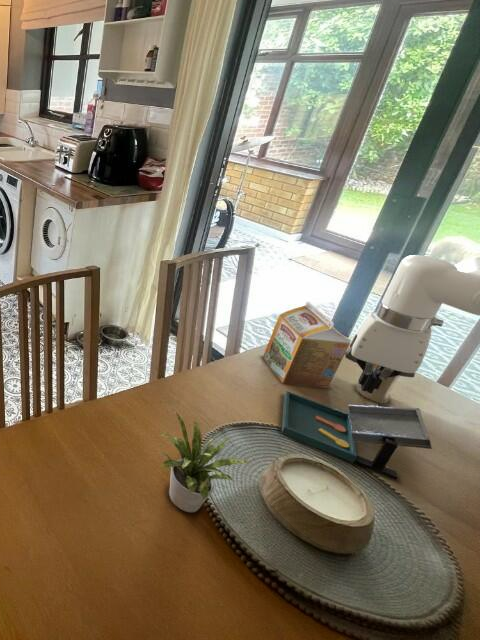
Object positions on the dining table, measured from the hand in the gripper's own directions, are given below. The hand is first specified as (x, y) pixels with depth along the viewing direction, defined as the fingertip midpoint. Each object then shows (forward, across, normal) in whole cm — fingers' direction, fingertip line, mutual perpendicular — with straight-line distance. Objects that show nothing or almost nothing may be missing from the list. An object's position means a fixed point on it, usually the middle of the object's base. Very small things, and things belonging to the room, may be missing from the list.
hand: (366, 388), depth 88 cm
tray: (+11, +6, +5) cm, 13 cm away
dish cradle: (+11, -4, +5) cm, 13 cm away
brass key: (+10, +3, +7) cm, 13 cm away
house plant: (+11, +27, +42) cm, 51 cm away
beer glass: (+11, -6, -17) cm, 21 cm away
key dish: (+5, -5, +5) cm, 8 cm away
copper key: (+10, +3, +2) cm, 11 cm away
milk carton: (+11, +10, -15) cm, 21 cm away
